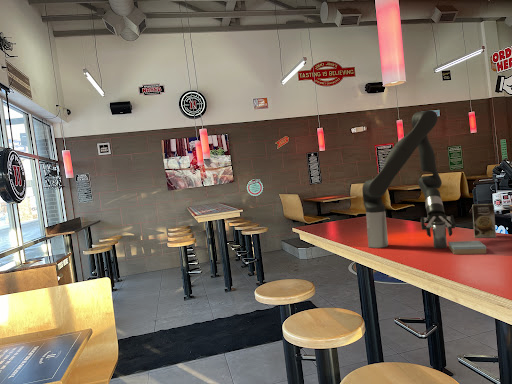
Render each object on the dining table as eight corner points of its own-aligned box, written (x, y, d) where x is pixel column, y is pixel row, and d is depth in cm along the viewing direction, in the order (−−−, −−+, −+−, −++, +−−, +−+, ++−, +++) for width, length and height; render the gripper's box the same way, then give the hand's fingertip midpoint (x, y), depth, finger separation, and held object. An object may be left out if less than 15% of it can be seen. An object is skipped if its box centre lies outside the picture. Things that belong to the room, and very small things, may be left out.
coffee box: (474, 238, 185) (472, 205, 185) (474, 235, 191) (471, 204, 190) (496, 237, 181) (494, 204, 181) (495, 235, 187) (492, 203, 186)
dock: (453, 254, 156) (453, 247, 156) (448, 248, 168) (448, 241, 168) (486, 253, 153) (486, 246, 153) (479, 247, 164) (478, 240, 164)
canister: (434, 248, 170) (432, 223, 169) (432, 246, 175) (431, 221, 175) (448, 248, 168) (446, 222, 168) (446, 246, 173) (444, 220, 173)
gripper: (418, 203, 180) (423, 231, 170) (451, 201, 176) (458, 229, 165) (418, 213, 186) (422, 240, 175) (450, 211, 181) (457, 239, 170)
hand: (440, 235), depth 170 cm, fingers open, 8 cm apart
